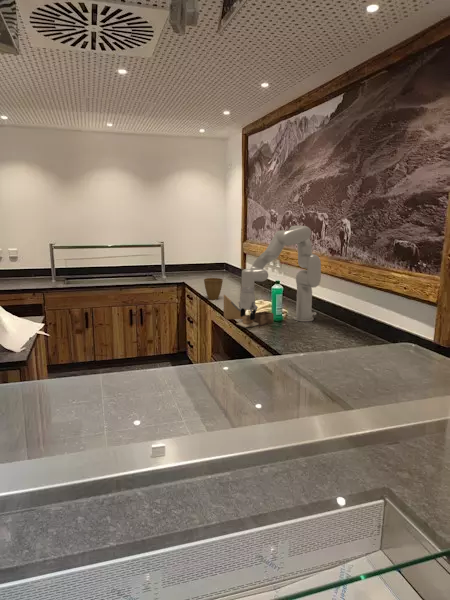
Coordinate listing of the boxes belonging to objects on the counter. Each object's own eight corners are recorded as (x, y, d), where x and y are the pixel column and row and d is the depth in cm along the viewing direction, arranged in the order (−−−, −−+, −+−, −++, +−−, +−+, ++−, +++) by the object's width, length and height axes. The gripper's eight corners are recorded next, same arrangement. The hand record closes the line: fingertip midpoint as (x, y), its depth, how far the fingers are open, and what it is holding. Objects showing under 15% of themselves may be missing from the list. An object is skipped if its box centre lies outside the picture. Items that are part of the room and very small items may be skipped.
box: (264, 320, 266) (265, 311, 265) (273, 323, 260) (273, 313, 258) (252, 322, 261) (252, 313, 259) (260, 325, 254) (260, 315, 253)
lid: (249, 323, 260) (250, 313, 259) (258, 326, 253) (259, 316, 252) (236, 325, 254) (236, 315, 253) (245, 328, 247) (245, 318, 246)
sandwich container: (249, 318, 271) (249, 295, 268) (225, 319, 269) (225, 296, 266) (246, 315, 280) (246, 293, 277) (223, 316, 277) (223, 294, 274)
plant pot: (201, 300, 329) (200, 280, 326) (208, 296, 343) (208, 277, 340) (218, 301, 324) (218, 281, 321) (225, 298, 338) (225, 278, 334)
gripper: (234, 288, 254) (234, 316, 257) (251, 292, 240) (251, 321, 243) (244, 287, 258) (243, 314, 262) (262, 291, 244) (261, 320, 248)
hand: (247, 317), depth 252 cm, fingers open, 9 cm apart
